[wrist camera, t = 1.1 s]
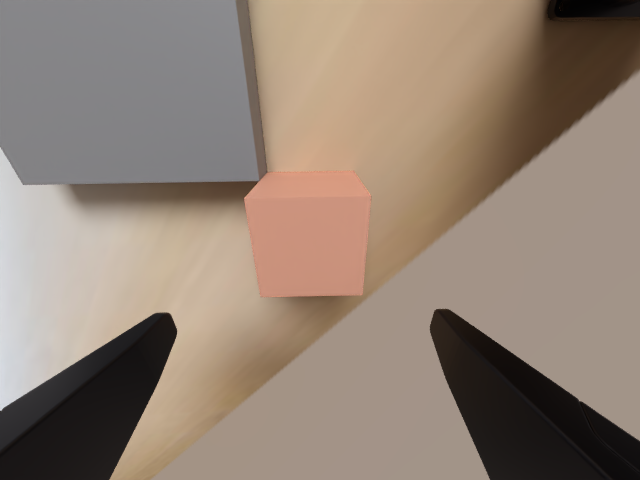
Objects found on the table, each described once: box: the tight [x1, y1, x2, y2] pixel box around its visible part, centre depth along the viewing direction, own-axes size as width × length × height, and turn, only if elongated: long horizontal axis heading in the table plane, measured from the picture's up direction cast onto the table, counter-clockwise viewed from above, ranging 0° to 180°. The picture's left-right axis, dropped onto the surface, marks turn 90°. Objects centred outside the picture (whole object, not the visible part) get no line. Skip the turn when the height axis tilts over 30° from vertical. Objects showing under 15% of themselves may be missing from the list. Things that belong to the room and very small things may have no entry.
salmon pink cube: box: [244, 171, 371, 297], centre depth 15 cm, size 6×6×6 cm
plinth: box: [0, 0, 267, 185], centre depth 12 cm, size 14×14×2 cm
